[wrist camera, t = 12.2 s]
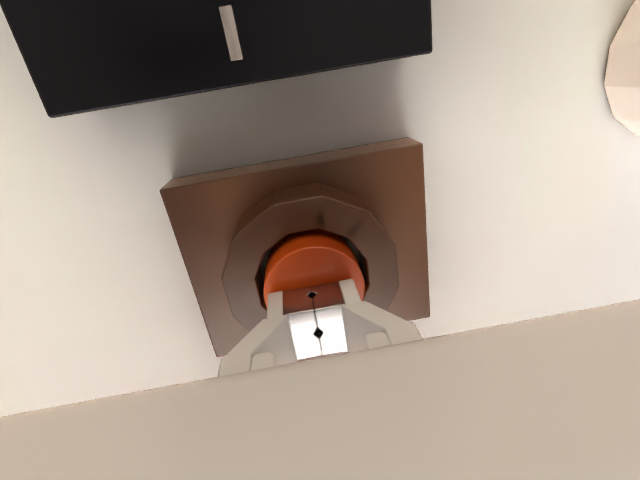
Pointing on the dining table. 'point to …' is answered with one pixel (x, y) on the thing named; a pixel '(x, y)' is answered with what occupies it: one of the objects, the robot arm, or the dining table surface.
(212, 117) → the dining table surface
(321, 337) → the robot arm
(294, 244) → the button
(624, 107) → the white cup
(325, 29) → the hob panel
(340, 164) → the button box
